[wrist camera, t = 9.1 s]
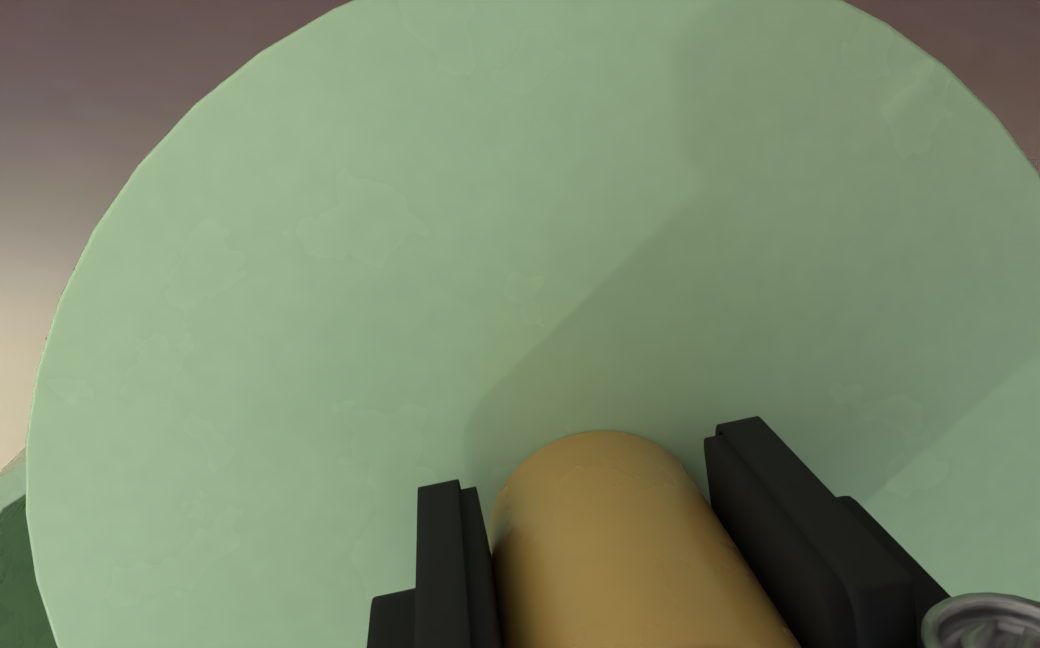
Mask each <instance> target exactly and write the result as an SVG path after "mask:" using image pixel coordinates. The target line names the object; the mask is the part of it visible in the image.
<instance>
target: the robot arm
mask: <svg viewBox="0 0 1040 648" xmlns="http://www.w3.org/2000/svg"><path fill="white" fill-rule="evenodd" d="M704 455H705V462H706V470H707V478H708V486H709V494H710V501H711V508H712V509H713V511H714V512H715V514H716V515H717V517H718V519H719V520H720V522H721V523H722V525H723V526H724V528H725V529H726V531H727V532H728V534H729V536H730V537H731V539H732V540H733V542H734V543H735V545H736V546H737V548H738V550H739V551H740V553H741V554H742V556H743V557H744V559H745V560H746V562H747V563H748V565H749V567H750V568H751V570H752V571H753V573H754V574H755V576H756V577H757V579H758V580H759V582H760V584H761V585H762V587H763V588H764V590H765V591H766V593H767V594H768V596H769V598H770V599H771V601H772V602H773V604H774V605H775V607H776V608H777V610H778V611H779V613H780V615H781V616H782V618H783V619H784V621H785V622H786V624H787V625H788V627H789V628H790V630H791V632H792V633H793V635H794V636H795V638H796V639H797V641H798V642H799V644H800V646H801V647H802V648H1040V602H1038V601H1034V600H1031V599H1027V598H1024V597H1020V596H1017V595H1011V594H1002V593H994V592H981V593H966V594H962V595H958V596H954V597H951V596H950V595H949V594H948V593H947V592H946V591H945V590H944V589H943V588H942V587H941V586H940V585H939V584H938V583H937V582H936V581H935V580H934V579H933V578H932V577H931V576H930V575H929V574H928V573H927V572H926V571H925V570H924V569H923V568H922V567H921V566H920V564H919V563H918V562H917V561H916V560H915V559H914V558H913V557H912V556H911V555H910V554H909V553H908V552H907V551H906V550H905V549H904V548H903V547H902V546H901V545H900V544H899V543H898V542H897V541H896V540H895V539H894V538H893V537H892V536H891V535H890V534H889V533H888V532H887V531H886V530H885V529H884V528H883V527H882V526H881V525H880V524H879V523H878V522H877V521H876V520H875V519H874V518H873V517H872V516H871V515H870V514H869V513H868V512H867V511H866V510H865V509H864V508H863V507H862V506H861V505H860V504H859V503H858V502H857V501H856V500H855V499H853V498H852V497H851V496H840V497H835V496H834V494H833V493H832V492H831V491H830V490H829V489H828V488H827V487H826V486H825V485H824V484H823V483H822V482H821V481H820V480H819V479H818V478H817V477H816V475H815V474H814V473H813V472H812V471H811V470H810V469H809V468H808V467H807V466H806V465H805V464H804V463H803V462H802V461H801V460H800V459H799V458H798V456H797V455H796V454H795V453H794V452H793V451H792V450H791V449H790V448H789V447H788V446H787V445H786V444H785V443H784V442H783V441H782V440H781V439H780V437H779V436H778V435H777V434H776V433H775V432H774V431H773V430H772V429H771V428H770V427H769V426H768V425H767V424H766V423H765V422H764V421H763V420H762V418H760V417H759V416H755V417H750V418H745V419H741V420H736V421H731V422H726V423H722V424H717V426H716V431H715V436H712V437H707V438H705V439H704ZM367 648H504V647H503V639H502V632H501V624H500V616H499V609H498V601H497V594H496V586H495V579H494V571H493V564H492V556H491V552H490V547H489V542H488V538H487V533H486V529H485V524H484V519H483V515H482V510H481V505H480V501H479V496H478V492H477V488H476V486H475V487H470V488H465V489H461V486H460V482H459V480H458V479H455V480H451V481H446V482H441V483H436V484H432V485H427V486H422V487H418V493H417V540H416V587H415V588H413V589H408V590H404V591H399V592H394V593H390V594H385V595H380V596H376V597H374V598H373V599H372V603H371V610H370V620H369V629H368V639H367Z"/></svg>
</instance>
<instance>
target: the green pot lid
mask: <svg viewBox="0 0 1040 648" xmlns="http://www.w3.org/2000/svg"><path fill="white" fill-rule="evenodd" d="M755 416H759V417H760V418H762V420H763V421H764V422H765V423H766V424H767V425H768V426H769V427H770V428H771V429H772V430H773V431H774V432H775V433H776V434H777V435H778V436H779V437H780V439H781V440H782V441H783V442H784V443H785V444H786V445H787V446H788V447H789V448H790V449H791V450H792V451H793V452H794V453H795V454H796V455H797V456H798V458H799V459H800V460H801V461H802V462H803V463H804V464H805V465H806V466H807V467H808V468H809V469H810V470H811V471H812V472H813V473H814V474H815V475H816V477H817V478H818V479H819V480H820V481H821V482H822V483H823V484H824V485H825V486H826V487H827V488H828V489H829V490H830V491H831V492H832V493H833V494H834V496H835V497H840V496H851V497H852V498H853V499H855V500H856V501H857V502H858V503H859V504H860V505H861V506H862V507H863V508H864V509H865V510H866V511H867V512H868V513H869V514H870V515H871V516H872V517H873V518H874V519H875V520H876V521H877V522H878V523H879V524H880V525H881V526H882V527H883V528H884V529H885V530H886V531H887V532H888V533H889V534H890V535H891V536H892V537H893V538H894V539H895V540H896V541H897V542H898V543H899V544H900V545H901V546H902V547H903V548H904V549H905V550H906V551H907V552H908V553H909V554H910V555H911V556H912V557H913V558H914V559H915V560H916V561H917V562H918V563H919V564H920V566H921V567H922V568H923V569H924V570H925V571H926V572H927V573H928V574H929V575H930V576H931V577H932V578H933V579H934V580H935V581H936V582H937V583H938V584H939V585H940V586H941V587H942V588H943V589H944V590H945V591H946V592H947V593H948V594H949V595H950V596H951V597H954V596H958V595H962V594H966V593H981V592H994V593H1002V594H1011V595H1017V596H1020V597H1024V598H1027V599H1031V600H1034V601H1038V602H1040V175H1039V173H1038V172H1037V170H1036V169H1035V168H1034V166H1033V165H1032V164H1031V162H1030V161H1029V159H1028V158H1027V157H1026V155H1025V154H1024V153H1023V151H1022V150H1021V149H1020V147H1019V146H1018V145H1017V143H1016V142H1015V141H1014V139H1013V138H1012V137H1011V135H1010V134H1009V132H1008V131H1007V130H1006V128H1005V127H1004V126H1003V124H1002V123H1001V122H1000V120H999V119H998V118H997V116H996V115H995V114H994V113H993V112H992V111H991V110H990V109H989V108H988V107H987V106H986V105H985V104H984V103H983V102H982V101H981V100H980V99H979V98H978V97H977V96H976V95H974V94H973V93H972V92H971V91H970V90H969V89H968V88H967V87H966V86H965V85H964V84H963V83H962V82H961V81H960V80H959V79H958V78H957V77H956V76H955V75H954V74H953V73H952V72H951V71H950V70H949V69H948V68H947V67H946V66H945V65H944V64H942V63H941V62H940V61H938V60H937V59H935V58H934V57H933V56H931V55H930V54H929V53H927V52H926V51H924V50H923V49H922V48H920V47H919V46H917V45H916V44H915V43H913V42H912V41H911V40H909V39H908V38H906V37H905V36H904V35H902V34H901V33H900V32H898V31H897V30H895V29H894V28H893V27H891V26H890V25H888V24H887V23H886V22H884V21H882V20H880V19H878V18H876V17H874V16H872V15H870V14H868V13H866V12H864V11H862V10H860V9H859V8H857V7H855V6H853V5H851V4H849V3H847V2H845V1H843V0H353V1H351V2H348V3H346V4H343V5H341V6H339V7H336V8H334V9H332V10H330V11H329V12H327V13H325V14H324V15H322V16H320V17H318V18H317V19H315V20H313V21H312V22H310V23H308V24H307V25H305V26H303V27H302V28H300V29H298V30H296V31H295V32H293V33H291V34H290V35H288V36H286V37H285V38H283V39H281V40H280V41H278V42H276V43H274V44H273V45H271V46H269V47H268V48H266V49H264V50H263V51H261V52H259V53H258V54H257V55H256V56H254V57H253V58H252V59H251V60H249V61H248V62H247V63H246V64H244V65H243V66H242V67H241V68H239V69H238V70H237V71H236V72H235V73H233V74H232V75H231V76H230V77H228V78H227V79H226V80H225V81H223V82H222V83H221V84H220V85H218V86H217V87H216V88H215V89H213V90H212V91H211V92H210V93H208V94H207V95H206V96H205V97H203V98H202V99H201V100H200V101H198V102H197V103H196V104H195V105H194V106H193V107H192V108H191V109H190V110H189V111H188V112H187V113H186V114H185V115H184V116H183V117H182V119H181V120H180V121H179V122H178V123H177V124H176V125H175V126H174V127H173V128H172V129H171V130H170V131H169V132H168V134H167V135H166V136H165V137H164V138H163V139H162V140H161V141H160V142H159V143H158V144H157V145H156V146H155V147H154V149H153V150H152V151H151V152H150V153H149V154H148V155H147V156H146V157H145V158H144V159H143V160H142V161H141V163H140V164H139V165H138V166H137V168H136V169H135V170H134V172H133V173H132V175H131V176H130V178H129V179H128V181H127V182H126V183H125V185H124V186H123V188H122V189H121V191H120V192H119V194H118V195H117V197H116V198H115V199H114V201H113V202H112V204H111V205H110V207H109V208H108V210H107V211H106V212H105V214H104V215H103V217H102V218H101V220H100V221H99V223H98V224H97V225H96V227H95V228H94V230H93V232H92V234H91V236H90V238H89V240H88V242H87V244H86V246H85V248H84V250H83V252H82V254H81V256H80V258H79V260H78V262H77V264H76V266H75V268H74V270H73V272H72V275H71V277H70V279H69V281H68V283H67V285H66V287H65V289H64V291H63V293H62V295H61V297H60V299H59V302H58V305H57V308H56V311H55V314H54V318H53V321H52V324H51V327H50V330H49V334H48V337H47V340H46V343H45V346H44V349H43V353H42V356H41V359H40V362H39V365H38V369H37V372H36V379H35V385H34V392H33V398H32V405H31V411H30V418H29V425H28V431H27V438H26V518H27V524H28V531H29V537H30V544H31V550H32V557H33V563H34V570H35V576H36V582H37V585H38V588H39V591H40V594H41V597H42V601H43V604H44V607H45V610H46V613H47V616H48V620H49V623H50V626H51V629H52V632H53V636H54V639H55V642H56V644H57V647H58V648H367V639H368V629H369V620H370V610H371V603H372V599H373V598H374V597H376V596H380V595H385V594H390V593H394V592H399V591H404V590H408V589H413V588H415V587H416V540H417V493H418V487H422V486H427V485H432V484H436V483H441V482H446V481H451V480H455V479H458V480H459V482H460V486H461V489H465V488H470V487H475V486H476V488H477V492H478V496H479V501H480V505H481V510H482V515H483V519H484V524H485V529H486V533H487V538H488V542H489V547H490V552H491V556H492V564H493V571H494V579H495V586H496V594H497V601H498V609H499V616H500V624H501V632H502V639H503V647H504V648H802V647H801V646H800V644H799V642H798V641H797V639H796V638H795V636H794V635H793V633H792V632H791V630H790V628H789V627H788V625H787V624H786V622H785V621H784V619H783V618H782V616H781V615H780V613H779V611H778V610H777V608H776V607H775V605H774V604H773V602H772V601H771V599H770V598H769V596H768V594H767V593H766V591H765V590H764V588H763V587H762V585H761V584H760V582H759V580H758V579H757V577H756V576H755V574H754V573H753V571H752V570H751V568H750V567H749V565H748V563H747V562H746V560H745V559H744V557H743V556H742V554H741V553H740V551H739V550H738V548H737V546H736V545H735V543H734V542H733V540H732V539H731V537H730V536H729V534H728V532H727V531H726V529H725V528H724V526H723V525H722V523H721V522H720V520H719V519H718V517H717V515H716V514H715V512H714V511H713V509H712V508H711V501H710V494H709V486H708V478H707V470H706V462H705V455H704V439H705V438H707V437H712V436H715V431H716V426H717V424H722V423H726V422H731V421H736V420H741V419H745V418H750V417H755Z"/></svg>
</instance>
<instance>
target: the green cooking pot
mask: <svg viewBox="0 0 1040 648" xmlns="http://www.w3.org/2000/svg"><path fill="white" fill-rule="evenodd" d="M46 340H47V338H46ZM0 648H58V647H57V644H56V642H55V639H54V636H53V632H52V629H51V626H50V623H49V620H48V616H47V613H46V610H45V607H44V604H43V601H42V597H41V594H40V591H39V588H38V585H37V582H36V576H35V570H34V563H33V557H32V550H31V544H30V537H29V531H28V524H27V518H26V448H25V449H23V450H22V451H21V452H20V453H19V454H18V455H17V456H16V457H15V458H14V459H13V460H12V461H11V462H10V463H9V464H8V465H7V466H6V467H5V468H3V469H2V470H1V471H0Z"/></svg>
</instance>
